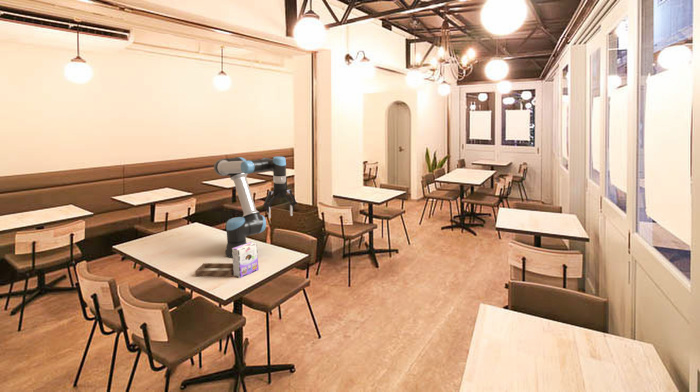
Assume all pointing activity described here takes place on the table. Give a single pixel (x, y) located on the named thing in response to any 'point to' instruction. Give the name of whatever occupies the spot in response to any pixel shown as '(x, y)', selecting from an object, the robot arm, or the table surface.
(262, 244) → the table surface
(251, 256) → the candy box
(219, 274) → the wooden picture frame
